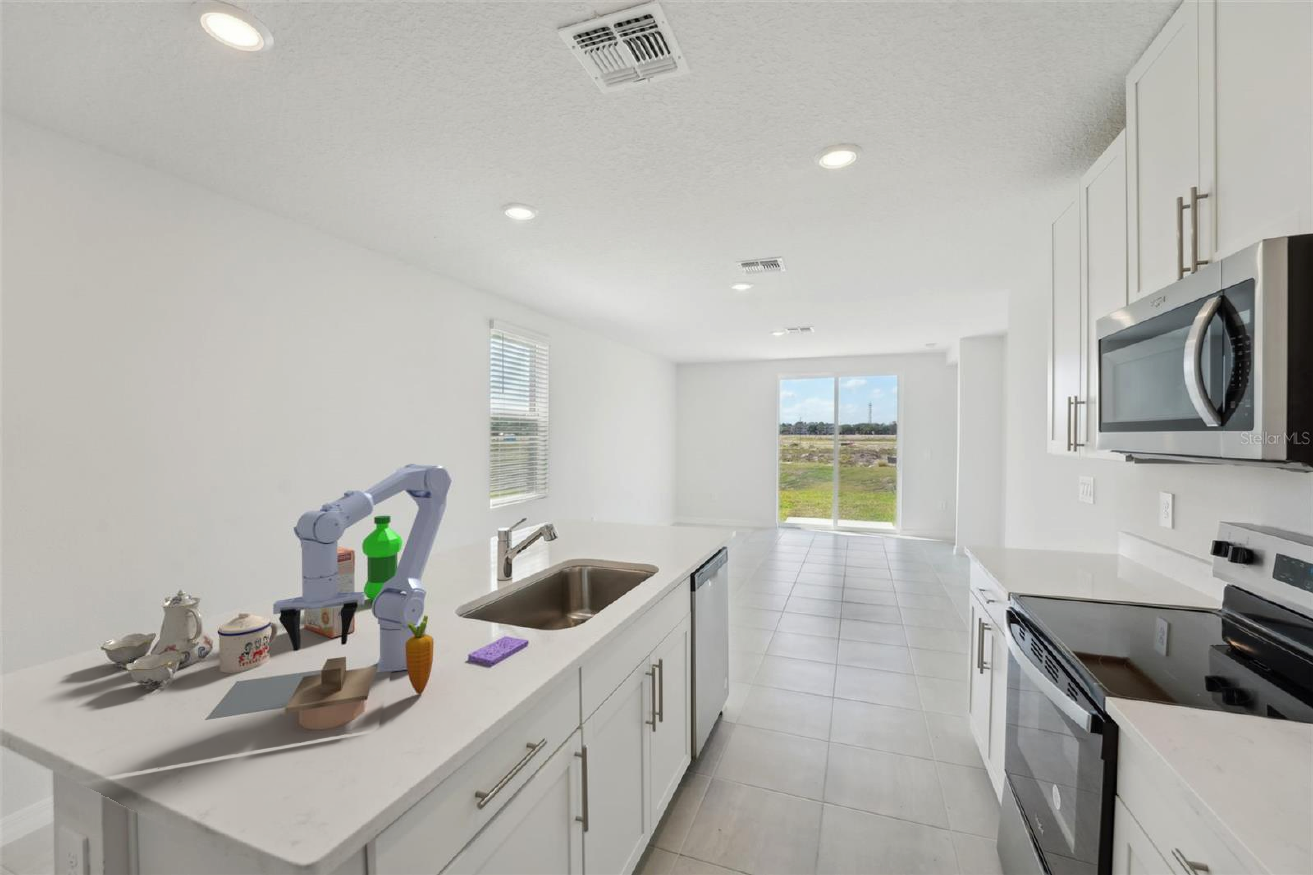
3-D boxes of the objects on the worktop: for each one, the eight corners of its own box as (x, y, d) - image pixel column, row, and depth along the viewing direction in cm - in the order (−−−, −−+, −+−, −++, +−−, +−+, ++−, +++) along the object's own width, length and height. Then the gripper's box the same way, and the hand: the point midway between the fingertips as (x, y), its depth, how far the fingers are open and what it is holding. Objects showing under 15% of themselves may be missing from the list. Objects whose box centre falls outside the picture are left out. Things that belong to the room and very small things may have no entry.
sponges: (467, 662, 119) (467, 654, 119) (505, 642, 131) (505, 634, 131) (492, 668, 116) (492, 660, 116) (529, 647, 128) (529, 639, 128)
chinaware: (87, 676, 114) (74, 601, 113) (184, 640, 129) (174, 574, 127) (145, 709, 101) (132, 625, 100) (245, 665, 116) (235, 591, 114)
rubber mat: (323, 671, 113) (323, 669, 113) (305, 706, 99) (305, 703, 99) (236, 683, 108) (236, 681, 108) (205, 722, 94) (205, 719, 94)
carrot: (406, 703, 101) (406, 623, 100) (405, 691, 105) (404, 615, 105) (434, 697, 103) (434, 619, 103) (432, 686, 107) (432, 611, 107)
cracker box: (356, 631, 135) (356, 549, 135) (331, 639, 130) (330, 554, 130) (328, 620, 143) (327, 542, 143) (303, 627, 138) (302, 546, 137)
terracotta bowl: (369, 697, 103) (368, 674, 103) (361, 724, 93) (361, 699, 93) (308, 707, 99) (307, 683, 99) (293, 736, 90) (293, 710, 90)
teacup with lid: (241, 677, 111) (241, 621, 110) (206, 673, 113) (206, 617, 112) (292, 653, 122) (292, 602, 122) (260, 649, 124) (259, 599, 124)
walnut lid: (375, 670, 104) (375, 646, 104) (367, 699, 93) (367, 672, 93) (303, 680, 100) (303, 655, 100) (285, 712, 89) (285, 684, 89)
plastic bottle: (409, 597, 163) (409, 515, 162) (378, 608, 153) (378, 520, 152) (386, 593, 167) (385, 513, 166) (355, 603, 157) (354, 518, 157)
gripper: (268, 584, 95) (269, 660, 95) (361, 575, 100) (361, 647, 101) (278, 574, 101) (279, 645, 102) (365, 566, 107) (366, 634, 107)
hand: (321, 645), depth 102 cm, fingers open, 7 cm apart
